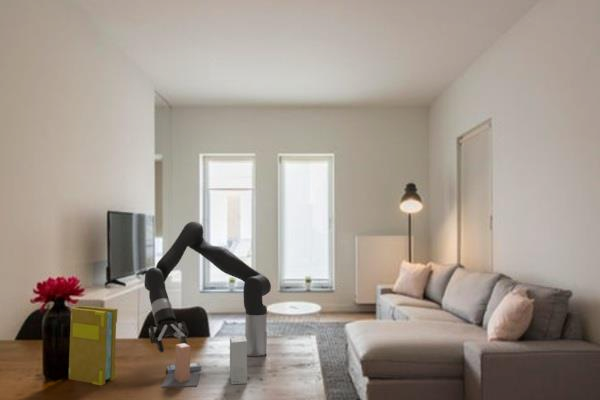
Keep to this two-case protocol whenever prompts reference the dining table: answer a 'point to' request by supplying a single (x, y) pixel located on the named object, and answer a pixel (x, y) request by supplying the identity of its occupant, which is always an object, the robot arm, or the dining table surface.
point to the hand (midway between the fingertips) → (173, 349)
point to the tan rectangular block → (182, 362)
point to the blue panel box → (193, 367)
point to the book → (92, 344)
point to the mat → (172, 382)
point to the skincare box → (238, 360)
